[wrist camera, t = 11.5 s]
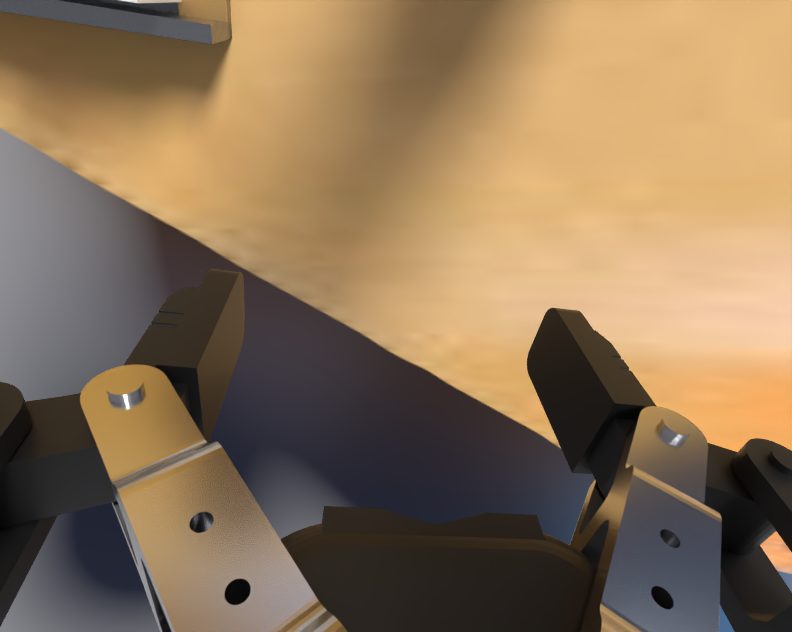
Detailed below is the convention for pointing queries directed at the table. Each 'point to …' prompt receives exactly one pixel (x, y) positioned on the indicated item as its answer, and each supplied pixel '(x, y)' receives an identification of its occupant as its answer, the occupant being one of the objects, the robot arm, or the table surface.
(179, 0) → the white knobbed block
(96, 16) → the bay
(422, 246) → the table surface
